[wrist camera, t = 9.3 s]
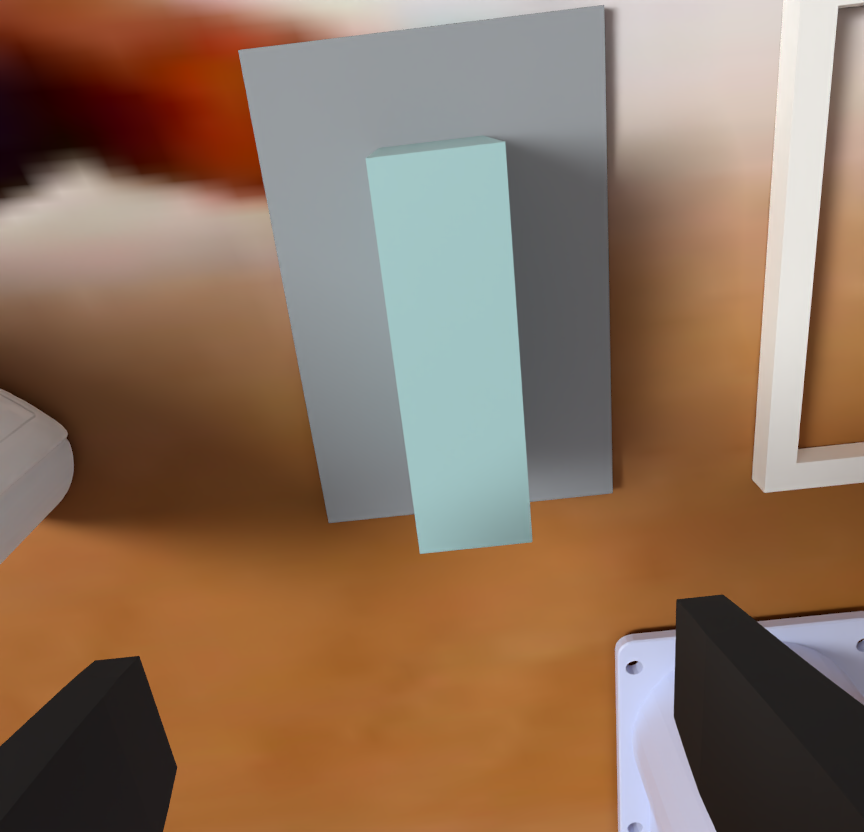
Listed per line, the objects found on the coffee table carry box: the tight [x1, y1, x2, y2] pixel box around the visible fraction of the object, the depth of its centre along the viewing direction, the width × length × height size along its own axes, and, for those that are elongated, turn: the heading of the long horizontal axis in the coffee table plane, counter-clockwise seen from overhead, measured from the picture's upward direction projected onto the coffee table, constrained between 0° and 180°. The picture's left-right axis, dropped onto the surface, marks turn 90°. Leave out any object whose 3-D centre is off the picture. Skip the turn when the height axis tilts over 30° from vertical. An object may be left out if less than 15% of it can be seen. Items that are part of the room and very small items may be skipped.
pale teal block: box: [365, 136, 532, 554], centre depth 16 cm, size 8×2×5 cm, turn 6°
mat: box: [238, 5, 613, 523], centre depth 18 cm, size 12×8×1 cm, turn 6°
